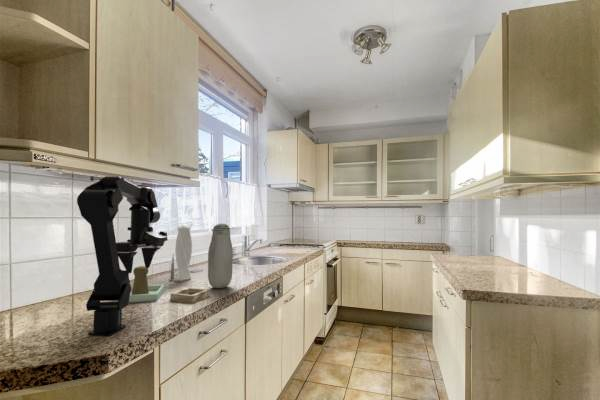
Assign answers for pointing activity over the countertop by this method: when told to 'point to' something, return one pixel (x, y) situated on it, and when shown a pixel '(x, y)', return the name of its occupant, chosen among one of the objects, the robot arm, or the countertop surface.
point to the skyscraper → (182, 254)
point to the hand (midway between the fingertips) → (138, 270)
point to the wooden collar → (189, 295)
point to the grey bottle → (220, 257)
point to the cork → (140, 281)
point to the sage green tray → (153, 295)
